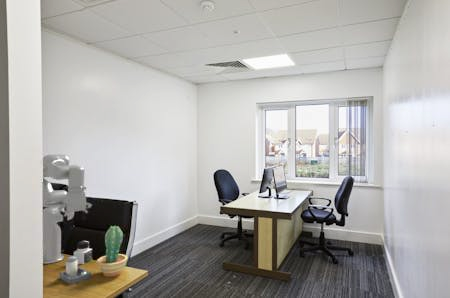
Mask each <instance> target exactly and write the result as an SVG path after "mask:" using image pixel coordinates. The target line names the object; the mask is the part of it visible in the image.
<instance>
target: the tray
mask: <svg viewBox="0 0 450 298" xmlns="http://www.w3.org/2000/svg"><path fill="white" fill-rule="evenodd" d="M84 271H85V272H87V274H85V275H82V276H80V274H81V273H82V272H84ZM59 279H60V280H62V281H63V282H65V283H67V284H68V285H70V286H71V285H74V284H77V283H80V282H83V281H87V280H89V279H92V272H90V271H88V270H87V269H84V268H83V267H81V266H79V267H77V277H75V278H72V279H71V278H70V277H68V276H66V270H65V271H63V272H60V273H59Z"/></svg>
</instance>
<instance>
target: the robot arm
mask: <svg viewBox="0 0 450 298" xmlns="http://www.w3.org/2000/svg"><path fill="white" fill-rule="evenodd" d="M42 158H43V206H42V207H43V209H42V210H43V265H46V264H47V265H48V264H54V263H58V262H60V261H62V260H64V255H63V254H62V252H61V250H62V230H61V227H60V225H59V224H58V223H59V222H63V224H65V225H66V224H68V221H69V220H72V219H73V218H74V216H75V212H79V211H80V212H81V211H82V214H81V215H82V216H81V220H83V221H86V220H87V217H88V216H87V215H88V213H89V211H90V210H91V207H92V206H93V204H92V203H90V202H87V197H86V196H87V195H86V192H85V190H87V187H86V186H85V168H84V167H83V166H79V165H75V164H73V165H70V159H69V156H67V155H66V154H47V155H44V156H43V157H42ZM45 178H52V179H53V180H57V181H59V180H60V181H61V180H68V184H67V191H66V190H64V189H62V190H61V189H60V190H59V189H57V190H54V189H53V186H52V184H51V182H50V181H48V180H47V179H45Z"/></svg>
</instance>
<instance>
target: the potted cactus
mask: <svg viewBox="0 0 450 298" xmlns="http://www.w3.org/2000/svg"><path fill="white" fill-rule="evenodd" d="M123 237H124V233H123V231H122V230H121V228H120V227H119V226H118V225H117V226H116V225H114V226H112V225H110V227H109V228H108V229H107V231H106V232H105V236H104V243H105V244H104V245H105V247H106V249H105V255H103V256H100V257H99V258H98V259H96V264H97V266H98V267H99V269H100V271H101V272H102V273H103V276H105V277H116V276H118V275H120V274H121V273H122V271H123V269H124V268H125V266H126V263H127V262H128V255H126V254H123V253H122V254H121V253H119V252H120V247H121V245H122V243H123Z"/></svg>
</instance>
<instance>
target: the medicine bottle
mask: <svg viewBox="0 0 450 298" xmlns="http://www.w3.org/2000/svg"><path fill="white" fill-rule="evenodd" d="M76 247H77V249H76V250H75V251H73V256H76V257H77V260H78V264H77V265H85V264H87V263H90V262H92V261H93V248H90V241H87V240H82V241H81V240H80V241H79V242H77V246H76Z"/></svg>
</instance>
